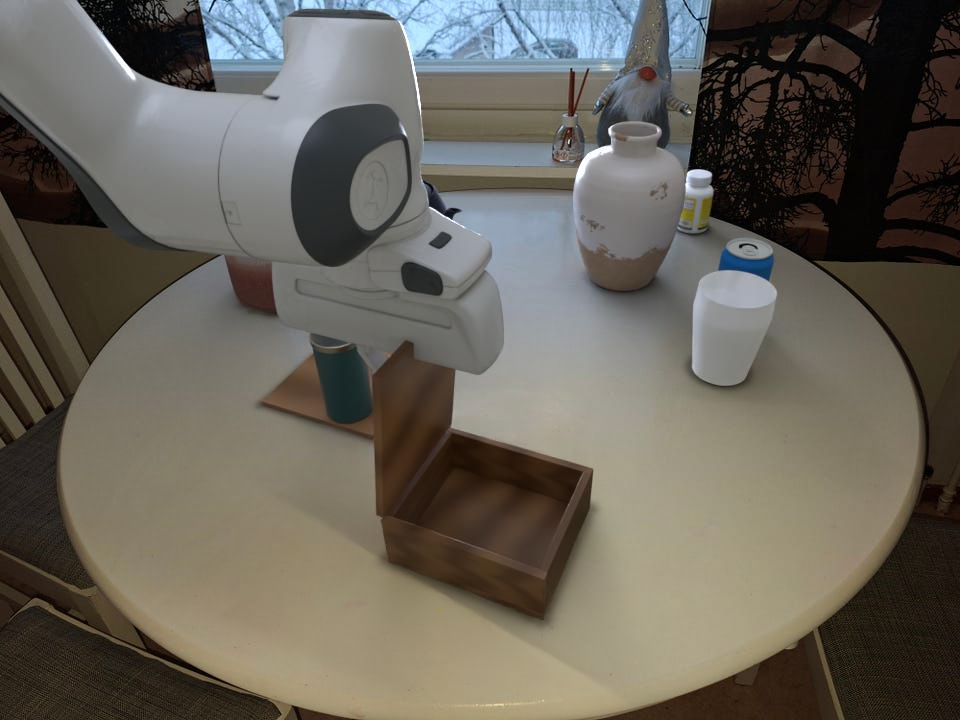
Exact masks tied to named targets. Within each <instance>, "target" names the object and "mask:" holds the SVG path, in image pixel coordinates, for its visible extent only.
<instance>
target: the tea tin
mask: <svg viewBox="0 0 960 720" xmlns="http://www.w3.org/2000/svg"><path fill="white" fill-rule="evenodd" d="M308 338H309V342H310V343H309V344H310V346H311V348H312V354H313V353H314V358H315V362H316V367H317V371H318V376H319V380H320V385H321V390H322V394H323V399H324V403H325V408H326V412H327V416H328V417H329V418H330V419H331V420H332V421H334V422H336V423H340V424H352V423H356V422H359V421H361V420H363V419H365V418H366V417H368V416H369V415H370V414H371V412H372V410H373V398H372V392H371V386H370V380H369V374H368V368H367V364H366V362H365V361H364V360H363V358H362V357H361V356H360V354H359V353H358V351H357V345H356V344H353V343H349V342H345V341H341V340H337V339H333V338H329V337H325V336H322V335H318V334H314V333H310V332H309V336H308Z"/></svg>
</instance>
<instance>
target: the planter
mask: <svg viewBox="0 0 960 720" xmlns="http://www.w3.org/2000/svg"><path fill="white" fill-rule="evenodd" d="M223 256H224V260H225V264H226V267H227V271H228V274H229V275H228V276H229V278H230V279H229V280H230V282H231V286H232V288H233V292H234V295H235V297H236V299H237V300H238V301H239V302H240V303H241V304H242V305H244V306H246V307H248V308H250V309H253V310H255V311H259V312H264V313H272V314H273V313H274V314H277V311H276V306H275V300H274V293H273V284H272V262H273V261H262V260H254V259H247V258H240V257H233V256H226V255H223Z"/></svg>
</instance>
